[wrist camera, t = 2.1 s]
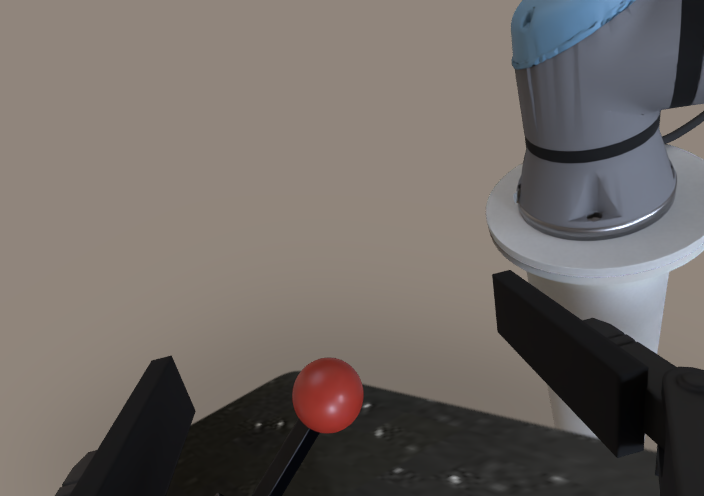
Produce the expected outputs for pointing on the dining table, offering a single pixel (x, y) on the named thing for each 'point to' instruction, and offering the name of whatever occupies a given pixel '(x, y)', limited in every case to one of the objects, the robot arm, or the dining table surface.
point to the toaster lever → (314, 417)
